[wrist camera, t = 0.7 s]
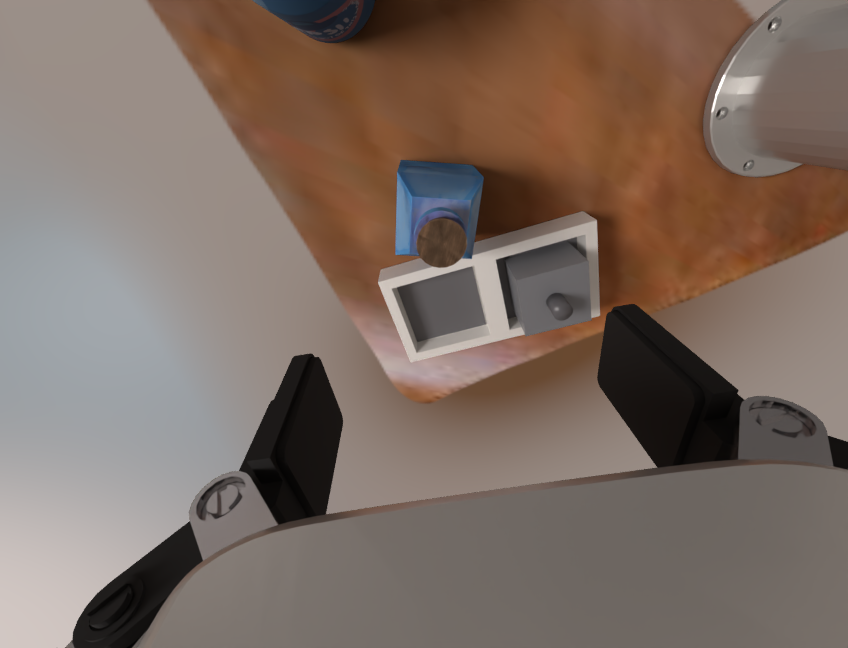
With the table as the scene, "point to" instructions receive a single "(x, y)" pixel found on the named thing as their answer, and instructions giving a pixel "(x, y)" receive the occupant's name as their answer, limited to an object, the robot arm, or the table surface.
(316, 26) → the soda can
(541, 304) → the charcoal plug block
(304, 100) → the table surface
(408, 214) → the perfume bottle
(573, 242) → the socket strip
